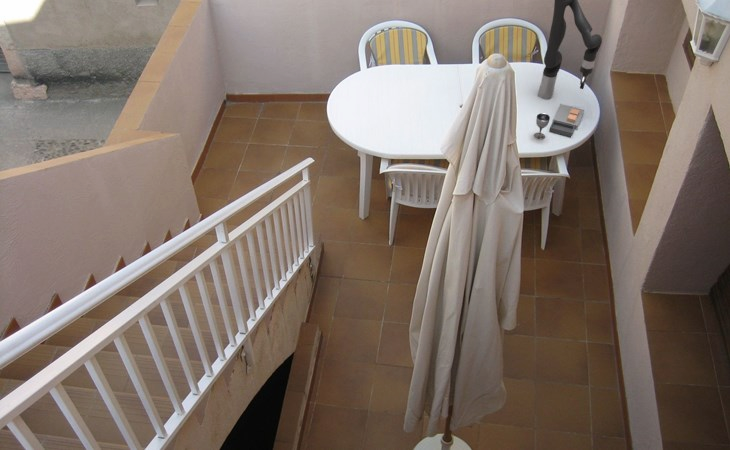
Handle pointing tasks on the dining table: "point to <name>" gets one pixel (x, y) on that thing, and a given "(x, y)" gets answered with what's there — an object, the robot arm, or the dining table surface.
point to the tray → (561, 128)
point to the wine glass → (541, 124)
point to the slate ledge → (564, 113)
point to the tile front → (571, 118)
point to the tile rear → (574, 112)
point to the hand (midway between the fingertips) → (581, 88)
